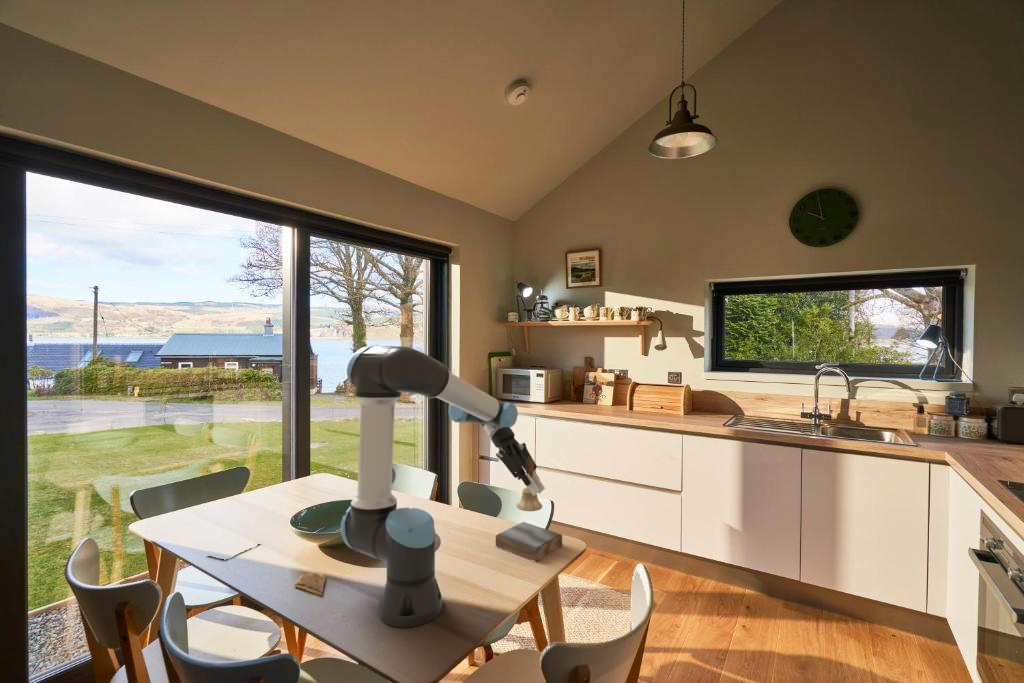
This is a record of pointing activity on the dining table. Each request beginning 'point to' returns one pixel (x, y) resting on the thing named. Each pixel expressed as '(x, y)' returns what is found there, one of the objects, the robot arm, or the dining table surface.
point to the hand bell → (529, 493)
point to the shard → (312, 582)
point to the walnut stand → (529, 541)
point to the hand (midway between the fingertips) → (539, 491)
